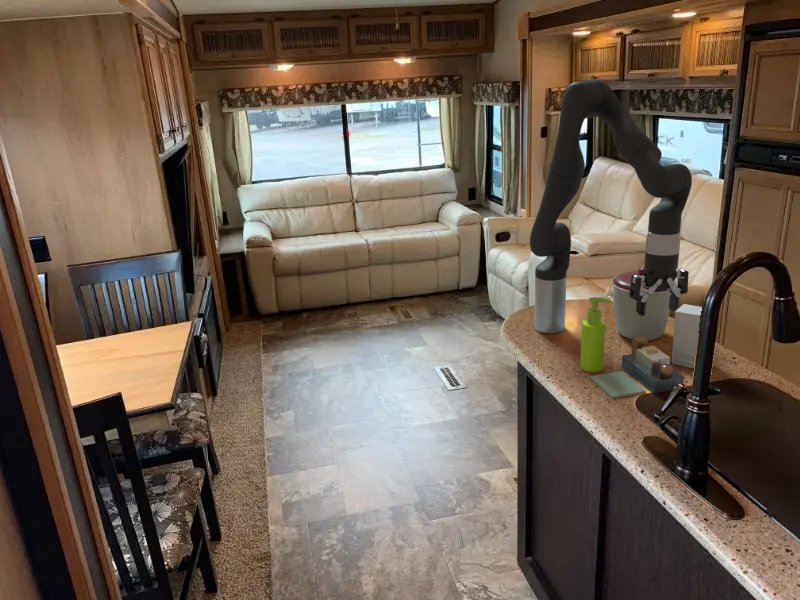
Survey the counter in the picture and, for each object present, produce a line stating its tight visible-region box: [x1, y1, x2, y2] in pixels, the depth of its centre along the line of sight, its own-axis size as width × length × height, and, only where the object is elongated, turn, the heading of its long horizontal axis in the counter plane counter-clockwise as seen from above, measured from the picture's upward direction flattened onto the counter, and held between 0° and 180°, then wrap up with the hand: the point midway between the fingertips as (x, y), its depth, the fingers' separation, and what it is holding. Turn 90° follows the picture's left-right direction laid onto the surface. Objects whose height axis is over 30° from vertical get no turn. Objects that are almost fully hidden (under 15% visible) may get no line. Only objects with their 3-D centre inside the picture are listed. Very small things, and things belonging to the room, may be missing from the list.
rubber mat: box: [590, 370, 647, 399], centre depth 156 cm, size 11×9×1 cm
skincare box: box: [671, 303, 703, 369], centre depth 161 cm, size 8×7×16 cm
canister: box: [610, 266, 678, 341], centre depth 179 cm, size 18×18×21 cm
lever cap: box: [636, 345, 671, 373], centre depth 156 cm, size 7×5×4 cm
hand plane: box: [621, 336, 685, 395], centre depth 157 cm, size 15×8×8 cm, turn 11°
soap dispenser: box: [579, 296, 612, 373], centre depth 162 cm, size 6×7×20 cm
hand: (656, 312), depth 152 cm, fingers open, 8 cm apart
